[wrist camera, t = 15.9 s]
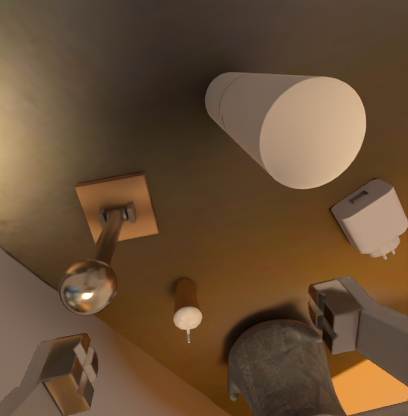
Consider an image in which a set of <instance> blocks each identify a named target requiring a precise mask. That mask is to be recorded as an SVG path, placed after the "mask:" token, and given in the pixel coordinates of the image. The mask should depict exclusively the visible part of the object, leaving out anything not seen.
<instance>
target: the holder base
mask: <svg viewBox="0 0 408 416" xmlns="http://www.w3.org/2000/svg"><path fill="white" fill-rule="evenodd" d="M75 189H76V192H77V195H78V198H79V200H80V203H81V206H82V208H83V211H84V214H85V217H86V219H87V222H88V225H89V227H90V230H91V233H92V236H93V238H94V241H95V244H96V242H97V240H98V238H99V236H100V234H101V232H102V230H103V228H104V226H105V223H106V221H107V217H106V212H107V211H109V210H115V209H120V208H127V213H128V216H129V220H128V221H124V223H123V226H122V229H121V232H120V235H119V238H118V241H121V240H126V239H131V238H136V237H141V236H146V235H151V234H157V233H158V225H157V221H156V217H155V213H154V209H153V205H152V200H151V196H150V192H149V188H148V184H147V180H146V176H145V172H140V173H135V174H129V175H124V176H118V177H113V178H107V179H102V180H96V181H91V182H85V183H80V184H77V185H76V187H75Z"/></svg>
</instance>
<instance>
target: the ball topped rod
mask: <svg viewBox="0 0 408 416" xmlns="http://www.w3.org/2000/svg"><path fill="white" fill-rule="evenodd" d="M106 217H107V221H106V223H105V226H104V228H103V230H102V232H101V234H100V236H99V238H98V240H97V242H96V244H95V247H94V249H93V251H92V253H91V255H90V257H89V259H86V260H82V261H79V262H77V263H75V264H73V265H72V266H71V267H69V268H68V269H67V270H66V272H65V273H64V274H63V276H62V278H61V281H60V285H59V295H60V298H61V301H62V303H63V305H64V306H65V307H66V308H67V309H68V310H70V311H71V312H73V313H75V314H78V315H93V314H96V313H99V312H101V311H102V310H104V309H105V308H106V307H108V306H109V305H110V303H111V302H112V301H113V299H114V297H115V295H116V292H117V278H116V275H115V273H114V271H113V270H112V268H111V267H110V266H109V265H110V262H111V259H112V256H113V253H114V250H115V247H116V244H117V241H118V238H119V235H120V232H121V229H122V226H123V223H124V221H128V220H129V216H128V213H127V208H120V209H115V210H109V211H107V212H106Z"/></svg>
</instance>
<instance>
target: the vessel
mask: <svg viewBox="0 0 408 416" xmlns="http://www.w3.org/2000/svg"><path fill="white" fill-rule="evenodd" d="M239 392H240V393H242V394H243V396H244V398H245V400H246V402H247V403H248V405H249V407H250V409H251V411H252V413H253V414H254V416H347V415H346V413H345V412H344V410H343V408H342V406H341V405H340V402H339V400H338V397H337V395H336V393H335V390H334V387H333V383H332V379H331V375H330V371H329V366H328V361H327V357H326V353H325V349H324V346H323V343H322V338H321V336H320V335H319V334H318V333H317V332H316V331H315V330H313V329H312V328H311V327H310V326H309V325H308V324H306V323H304V322H301V321H298V320H292V319H276V320H269V321H265V322H261V323H258V324H256V325H254V326H252V327H250V328H249V329H248V330H246V331H245V332H244V333H243V334H241V335H240V337H239V338H238V339H237V340H236V341H235V343H234V344H233V346H232V348H231V350H230V352H229V356H228V394H229V397H230V399H231V400H232V401H235V400H236V399H237V396H238V393H239Z"/></svg>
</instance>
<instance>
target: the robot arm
mask: <svg viewBox="0 0 408 416" xmlns="http://www.w3.org/2000/svg"><path fill="white" fill-rule="evenodd" d="M308 293H309V295H310V296H311V299H310V301H309V302H308V309H309V313H310V317H311V319H312V322H313V324H314V325H315V327H316V328H317V329H318V330H320V331H322V332H323V333H322V339H323V340H324V342H325V344H326V345H327V347H328V348H329V350H330V352H331V353H332V354H337V353H342V352H347V351H352V350H356V351H357V352H358V353H360V354H361V355H363V356H364V357H366V358H367V359H368V360H370V361H371V362H373V363H374V364H376V365H377V366H379V367H380V368H381V369H383V370H385V371H386V372H387V373H389V374H390V375H392V376H393V377H394V378H396V379H397V380H399V381H400V382H402V383H404V384H405V385H406V386H408V316H406V315H404V314H401V313H399V312H397V311H394V310H392V309H390V308H388V307H385V306H381V307H380V306H379V305H378V304H377V303H376V302H375V301H374V300H373V299H372V298H371V297H370V296H369V295H368V294H367V293H366V291H365V290H364V289H363V288H362V287H361V286H360V285H359V284H358V283H357V282H356V281H355V280H354V279H353V278H352V277H350V276H347V277H342V278H338V279H333V280H329V281H324V282H320V283H316V284H311V285H310V286H309V290H308ZM89 344H90V338H89V336H88V334H86V333H83V334H77V335H72V336H67V337H62V338H57V339H53V340H48V341H42V342H41V343H40V344H39V345H38V347H37V349H36V351H35V353H34V355H33V358H32V360H31V362H30V364H29V367H28V369H27V371H26V373H25V376H24V379H23V380H22V383H21V385H20V387H16V388H14V389H13V390H12V391H11V392H10V393H9V394H8V395H7V396H6V397H5V398H4V399H3V400H2V401H1V402H0V416H68V415H72V414H76V413H79V412H84V411H87V410H90V407H91V401H92V397H93V392H94V389H93V387H92V385H91V384H92V382H93V381H94V380H95V378H96V377H97V372H98V358H97V353H96V351H95V349H94V348H92V347H90V346H89ZM348 416H408V401H406V402H402V403H398V404H394V405H390V406H385V407H381V408H377V409H373V410H369V411H365V412H361V413H357V414H353V415H348Z"/></svg>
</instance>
